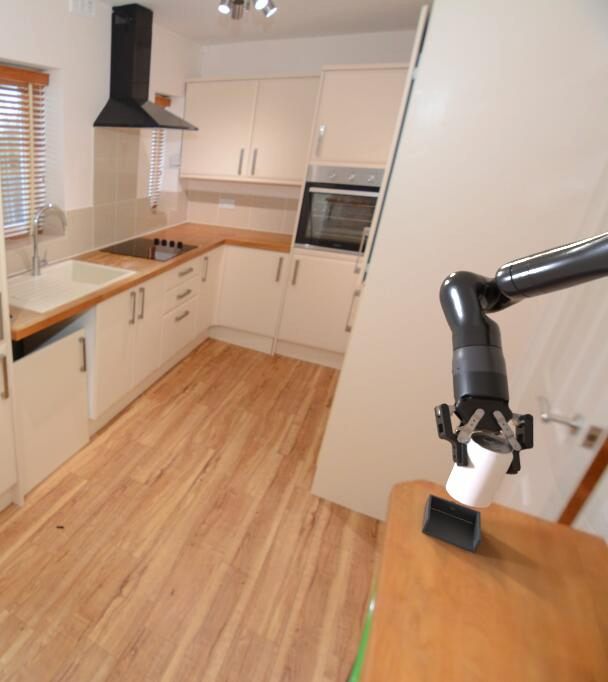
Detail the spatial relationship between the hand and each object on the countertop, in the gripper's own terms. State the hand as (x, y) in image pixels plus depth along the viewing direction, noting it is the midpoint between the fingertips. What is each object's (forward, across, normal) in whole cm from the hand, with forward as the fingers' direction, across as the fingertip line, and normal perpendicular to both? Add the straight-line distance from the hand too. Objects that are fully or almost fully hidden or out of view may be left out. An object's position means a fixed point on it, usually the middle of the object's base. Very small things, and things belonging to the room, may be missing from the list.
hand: (486, 470), depth 77 cm
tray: (+9, +3, +20) cm, 22 cm away
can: (+4, 0, +6) cm, 8 cm away
